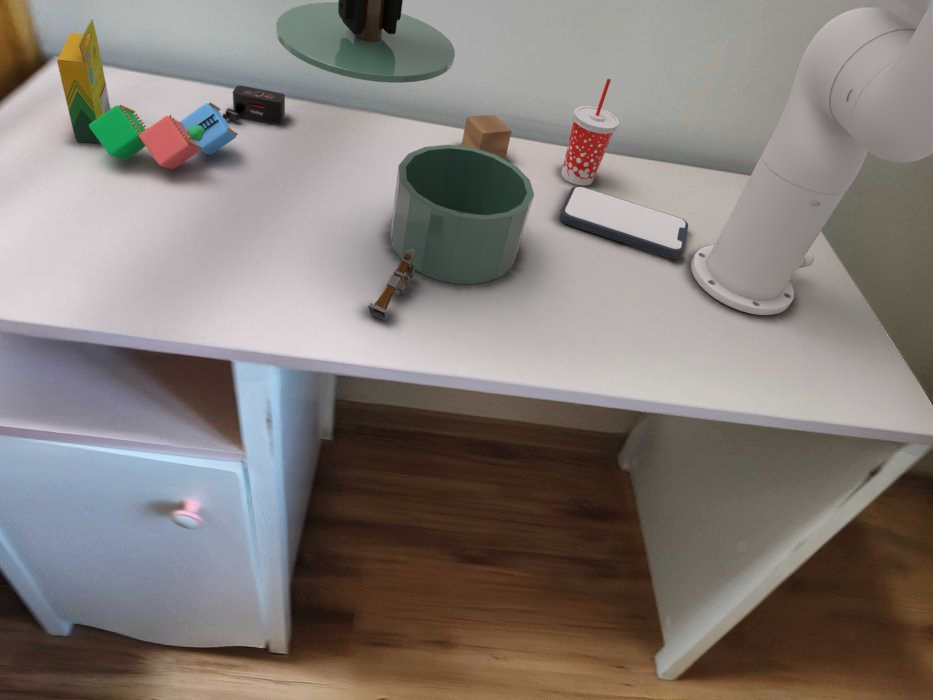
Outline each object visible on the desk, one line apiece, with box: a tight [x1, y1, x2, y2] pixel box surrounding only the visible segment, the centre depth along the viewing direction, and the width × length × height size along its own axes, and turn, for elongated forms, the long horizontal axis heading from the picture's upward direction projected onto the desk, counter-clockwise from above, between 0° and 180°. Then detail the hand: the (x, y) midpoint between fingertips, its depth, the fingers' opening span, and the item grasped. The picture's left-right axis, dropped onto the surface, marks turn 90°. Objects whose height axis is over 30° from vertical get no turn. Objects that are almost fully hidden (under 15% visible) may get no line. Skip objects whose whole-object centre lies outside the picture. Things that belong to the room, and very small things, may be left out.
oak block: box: [460, 114, 513, 160], centre depth 95 cm, size 5×5×5 cm
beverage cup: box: [560, 78, 620, 187], centre depth 92 cm, size 6×6×14 cm
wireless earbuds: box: [222, 85, 286, 125], centre depth 91 cm, size 5×7×3 cm, turn 87°
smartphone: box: [558, 185, 689, 260], centre depth 89 cm, size 9×2×16 cm
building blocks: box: [89, 101, 239, 170], centre depth 80 cm, size 8×8×12 cm
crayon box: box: [56, 19, 112, 144], centre depth 80 cm, size 7×3×12 cm, turn 10°
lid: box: [275, 0, 456, 84], centre depth 60 cm, size 16×16×6 cm
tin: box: [389, 144, 535, 285], centre depth 77 cm, size 15×15×8 cm
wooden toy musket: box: [367, 248, 416, 322], centre depth 70 cm, size 2×8×4 cm, turn 157°
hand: (368, 26), depth 60 cm, fingers closed on lid, 2 cm apart
